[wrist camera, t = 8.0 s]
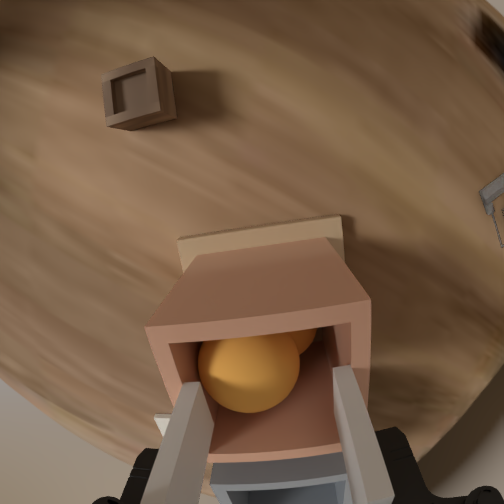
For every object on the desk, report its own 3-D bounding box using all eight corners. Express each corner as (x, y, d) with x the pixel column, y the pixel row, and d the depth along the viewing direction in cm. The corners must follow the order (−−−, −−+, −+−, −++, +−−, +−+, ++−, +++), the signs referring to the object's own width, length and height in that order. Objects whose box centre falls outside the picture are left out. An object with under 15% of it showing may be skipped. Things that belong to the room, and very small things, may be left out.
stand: (130, 130, 20) (106, 126, 17) (124, 85, 19) (101, 74, 16) (177, 118, 20) (160, 110, 16) (170, 71, 19) (153, 56, 15)
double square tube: (236, 448, 28) (225, 538, 17) (180, 237, 22) (109, 301, 11) (344, 436, 27) (364, 526, 16) (337, 214, 21) (400, 263, 10)
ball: (258, 372, 19) (189, 404, 16) (249, 296, 18) (171, 321, 15) (321, 398, 15) (248, 447, 12) (318, 310, 14) (232, 349, 11)
